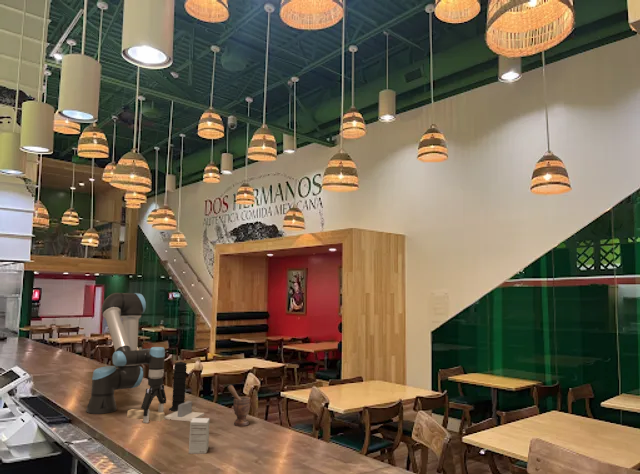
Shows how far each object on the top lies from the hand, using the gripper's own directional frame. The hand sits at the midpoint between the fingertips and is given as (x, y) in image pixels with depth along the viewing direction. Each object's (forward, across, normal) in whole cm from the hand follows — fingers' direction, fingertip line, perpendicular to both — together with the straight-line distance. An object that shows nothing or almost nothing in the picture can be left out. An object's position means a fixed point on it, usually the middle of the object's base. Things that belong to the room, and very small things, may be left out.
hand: (153, 419), depth 257 cm
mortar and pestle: (0, +4, -45) cm, 45 cm away
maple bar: (0, 0, +5) cm, 5 cm away
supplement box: (+1, -40, -45) cm, 60 cm away
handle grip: (0, +25, 0) cm, 25 cm away
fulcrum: (0, +10, -12) cm, 16 cm away
